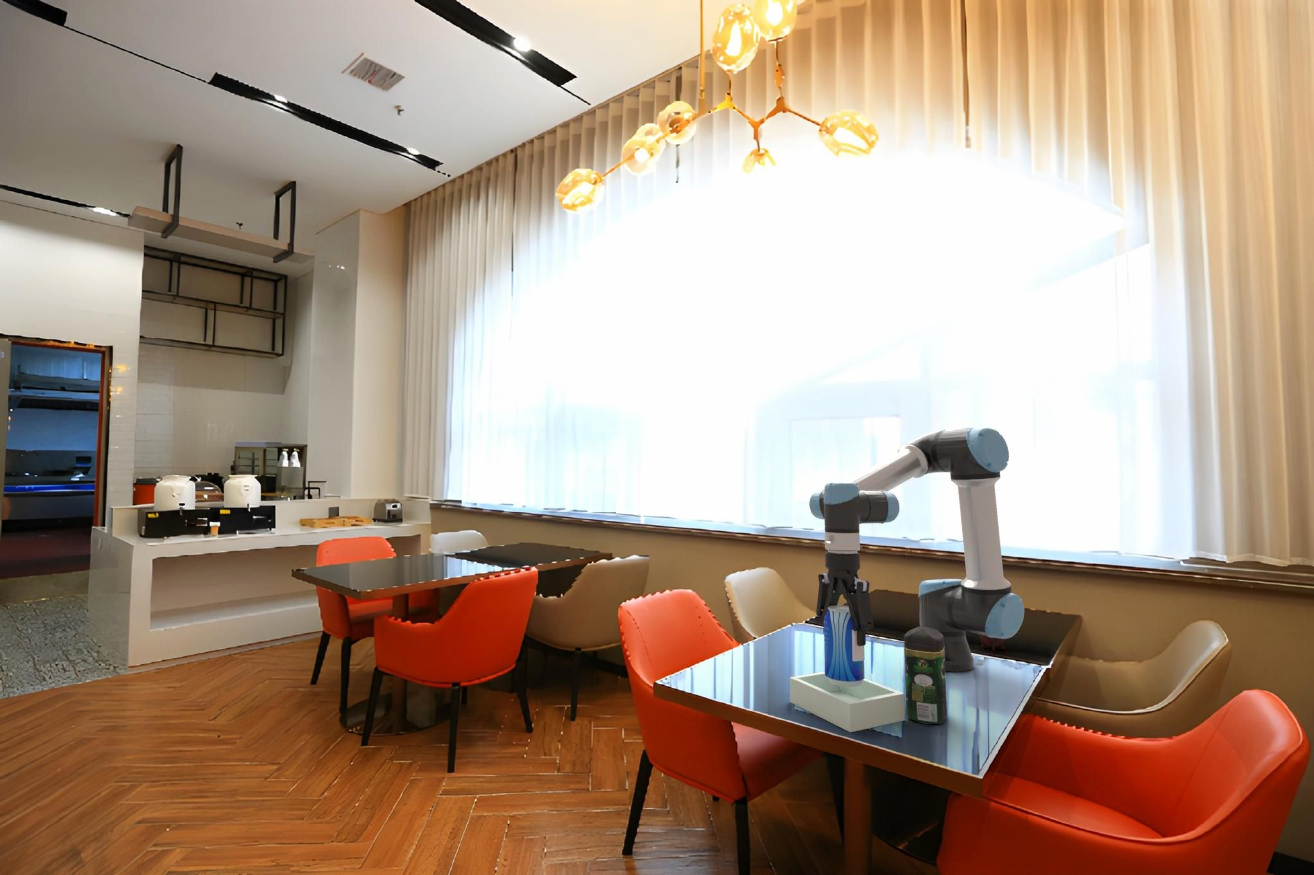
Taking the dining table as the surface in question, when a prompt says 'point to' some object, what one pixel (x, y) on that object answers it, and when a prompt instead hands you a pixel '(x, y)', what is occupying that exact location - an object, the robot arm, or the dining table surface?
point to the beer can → (840, 649)
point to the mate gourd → (992, 642)
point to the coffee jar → (925, 675)
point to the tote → (848, 702)
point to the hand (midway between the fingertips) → (844, 655)
